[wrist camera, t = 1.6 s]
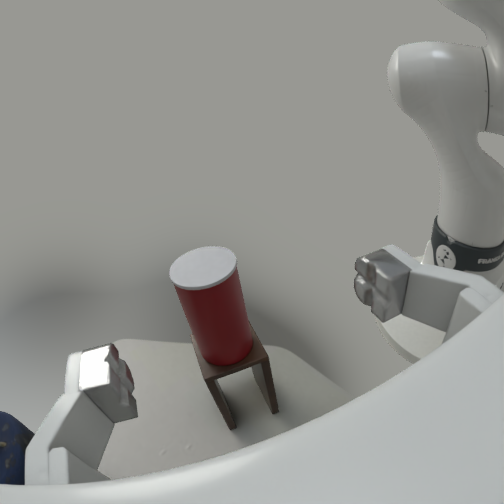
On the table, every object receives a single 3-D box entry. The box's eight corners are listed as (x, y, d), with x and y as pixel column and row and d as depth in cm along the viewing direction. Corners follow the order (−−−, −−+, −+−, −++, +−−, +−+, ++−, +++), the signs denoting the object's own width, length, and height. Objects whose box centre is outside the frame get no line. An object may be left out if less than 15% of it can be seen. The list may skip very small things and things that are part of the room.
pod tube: (242, 318, 31) (224, 239, 26) (262, 354, 26) (246, 271, 22) (193, 335, 29) (165, 259, 25) (207, 374, 25) (174, 295, 20)
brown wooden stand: (260, 375, 37) (245, 314, 31) (279, 411, 32) (268, 355, 26) (215, 391, 36) (189, 334, 30) (230, 430, 31) (204, 379, 25)
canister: (135, 549, 18) (7, 506, 8) (65, 545, 16) (-61, 487, 6) (123, 477, 26) (20, 393, 16) (61, 480, 24) (-44, 399, 14)
